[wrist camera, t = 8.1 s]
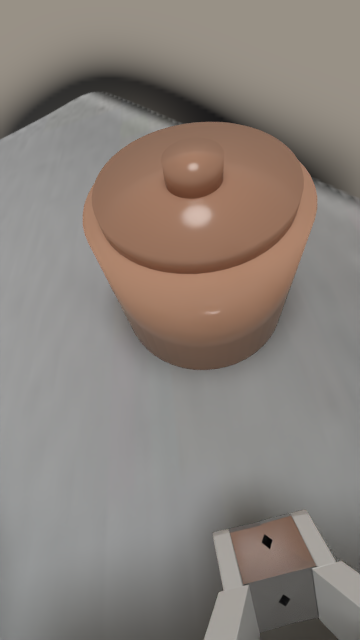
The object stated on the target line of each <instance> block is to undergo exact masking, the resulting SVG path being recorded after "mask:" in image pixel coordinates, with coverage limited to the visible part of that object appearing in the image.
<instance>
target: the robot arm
mask: <svg viewBox="0 0 360 640" xmlns="http://www.w3.org/2000/svg"><path fill="white" fill-rule="evenodd" d="M229 532H230V533H229ZM213 539H214V544H215V550H216V555H217V560H218V565H219V570H220V575H221V580H222V586H223V591H221V592H218V596H217V599H216V602H215V605H214V608H213V612H212V615H211V618H210V621H209V624H208V628H207V631H206V634H205V637H204V640H260V633H261V632H264V631H268V630H271V629H274V628H278V627H281V626H284V625H288V624H292V623H297V622H301V621H306V620H310V619H315V618H319V619H320V621H321V622H322V623H323V624H324V625H325V626H326V627H327V628H328V629H329V630H330V631H331V632H332V633H333V634H334V635H335V636H336V637H337V638H338V639H339V640H360V574H359V573H358V572H357V571H355V570H354V569H352V568H351V567H349V566H348V565H347V564H345V563H344V562H342V561H338V562H336V560H335V559H334V557H333V555H332V553H331V552H330V550H329V548H328V546H327V545H326V543H325V541H324V539H323V538H322V536H321V534H320V532H319V531H318V529H317V527H316V526H315V524H314V522H313V520H312V519H311V517H310V515H309V513H308V512H307V511H306V510H301V511H297V512H293V513H290V514H284V515H280V516H276V517H273V518H269V519H265V520H261V521H259V522H256V523H252V524H247V525H242V526H238V527H233V528H229V530H228V529H225V530H220V531H216V532H213Z"/></svg>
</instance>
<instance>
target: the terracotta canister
mask: <svg viewBox="0 0 360 640" xmlns="http://www.w3.org/2000/svg"><path fill="white" fill-rule="evenodd" d="M316 211H317V194H316V189H315V185H314V183H313V181H312V178H311V176H310V175H309V173H308V172H307V170H306V169H305V167H304V166H303V165H302V164H301V163H300V162H299V161H298V160H297V158H296V156H295V155H294V154H293V152H292V151H291V150H290V149H289V148H288V147H287V146H285V145H284V144H283V143H282V142H281V141H279V140H278V139H276V138H274V137H272V136H271V135H269V134H267V133H265V132H263V131H260V130H257V129H254V128H251V127H248V126H243V125H238V124H233V123H224V122H198V123H188V124H181V125H177V126H172V127H168V128H165V129H161V130H158V131H155V132H153V133H150V134H148V135H145V136H143V137H141V138H139V139H137V140H135V141H134V142H132V143H130V144H128V145H127V146H125V147H124V148H123V149H121V150H120V151H119V152H117V153H116V154H115V155H114V156H113V157H112V158H111V159H110V160H109V161H108V162H107V163H106V164H105V166H104V167H103V168H102V170H101V171H100V173H99V175H98V177H97V178H96V181H95V183H94V185H93V186H92V188H91V190H90V192H89V194H88V196H87V199H86V202H85V204H84V210H83V227H84V232H85V236H86V238H87V240H88V243H89V245H90V247H91V249H92V251H93V253H94V255H95V257H96V259H97V261H98V262H99V264H100V266H101V268H102V270H103V272H104V274H105V276H106V278H107V280H108V282H109V284H110V286H111V288H112V290H113V292H114V293H115V295H116V297H117V299H118V301H119V303H120V305H121V307H122V309H123V311H124V313H125V315H126V317H127V319H128V321H129V323H130V325H131V326H132V328H133V330H134V332H135V334H136V336H137V337H138V339H139V340H140V342H141V343H142V344H143V345H144V346H145V347H146V349H148V350H149V351H150V352H151V353H152V354H153V355H155V356H157V357H158V358H160V359H161V360H163V361H165V362H168V363H170V364H172V365H175V366H179V367H182V368H187V369H194V370H210V369H218V368H223V367H227V366H230V365H233V364H236V363H238V362H240V361H242V360H244V359H247V358H248V357H250V356H251V355H253V354H254V353H256V352H257V351H258V350H259V349H260V348H261V347H262V346H263V345H264V344H265V343H266V342H267V341H268V340H269V338H270V337H271V335H272V334H273V332H274V330H275V328H276V326H277V323H278V321H279V318H280V315H281V313H282V310H283V307H284V304H285V301H286V299H287V296H288V293H289V290H290V287H291V284H292V282H293V279H294V276H295V273H296V270H297V268H298V265H299V262H300V259H301V256H302V254H303V251H304V248H305V245H306V242H307V240H308V237H309V234H310V231H311V228H312V226H313V223H314V220H315V216H316Z"/></svg>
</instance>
